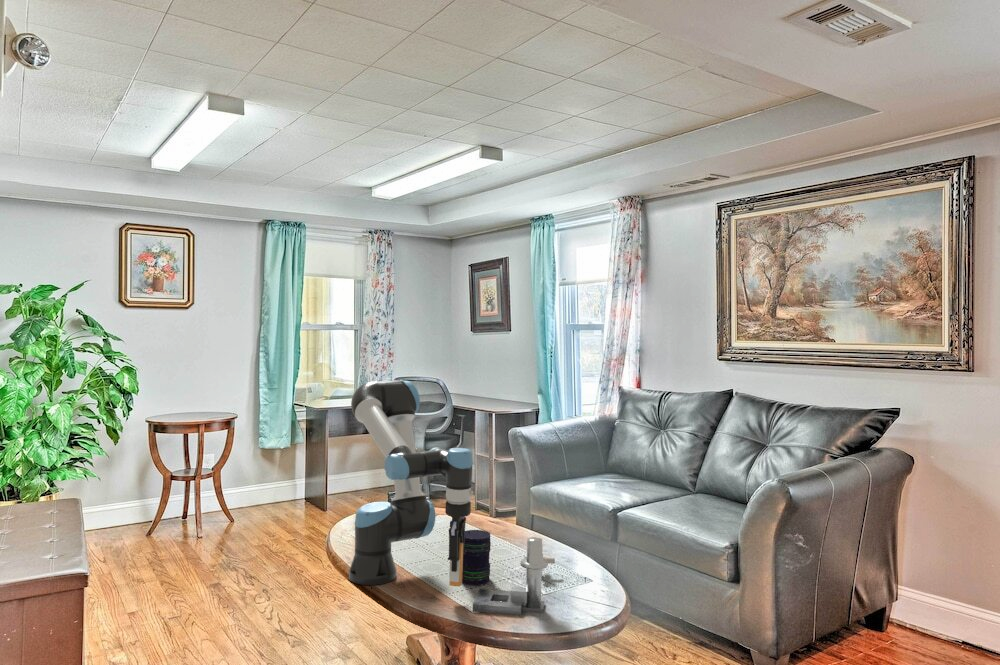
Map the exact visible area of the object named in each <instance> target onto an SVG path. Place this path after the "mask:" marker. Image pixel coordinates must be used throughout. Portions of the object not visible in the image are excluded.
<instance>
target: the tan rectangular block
mask: <svg viewBox="0 0 1000 665" xmlns="http://www.w3.org/2000/svg"><path fill="white" fill-rule="evenodd" d="M459 560H460V571H459V582H452V581H450V579H449V584H448V585H449V587H451V586H452V587H461V586H462V584H463V583H462V571H463V543H460V550H459Z"/></svg>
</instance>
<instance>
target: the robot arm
mask: <svg viewBox="0 0 1000 665" xmlns="http://www.w3.org/2000/svg"><path fill="white" fill-rule="evenodd" d="M420 403H421V399H420V393H419V391H418V388H417V387H416V385H415V384H414V383H413V382H411V381H410V380H402V379H397V380H380V381H376V380H374V381H367V382H365V383H363V384H361V385H360V386H359V387H358V388H357V389H356V390H355V391H354V392H353V395H352V398H351V404H350V405H351V411H352V413H353V416H354V417H355V419H356V420H357V421H358V422H359V423H362V424H363V426H364V427H365V429H366V430H367V432H368V433H369V434H370V437H371V438H372V439H373V441H374V442H375V444H376V446H377V447H378V449H379V450H380V451H381V453H382V455H383V456H384V458H385V460H384V464H383V466H384V467H383V468H384V471H385V476H386V477H387V478H388V479H389V480H390V481H391V480H392V481H393V484H394V492H395V495H394V497H393V498H392V499H391V502H390V501H383V500H382V501H374V502H368V503H366V504H363V505H361V506H360V507H359V508H358V509H357V510H356V512H355V517H354V518H355V521H354V555H353V559H352V560H351V564H350V567H349V570H348V580H349V581H350V582H352V583H354V584H357V585H362V586H363V585H364V586H377V585H378V586H379V585H383V584H387V583H390V582H392V581H393V580H395V579H396V578H397V567H396V564H395V561H394V558H393V557H394V556H393V554H392V543H395V542H402V541H403V542H404V541H409V540H414V539H415V540H416V539H420V538H424V537H427V536H429V535H430V534H431V533H432V532H433V530H434V527H435V523H436V510H435V505H434V504H433V502H432V501H430V500H428V499H427V494H425V493H424V492H423V491H422V490H421V489H422V488H421V483H420V478H422V477H423V478H424V477H432V476H443V477H445V478H446V479H445V482H446V483H445V500H446V502H445V515H447V516H450V517H451V520H450V522H449V528H448V557H447V561H449V580H450V581H452V582H459V571H460V560H459V550H460V543H463V550H464V542H465V531H466V523H467V522H466V521H467V517H468V516H470V515H471V511H472V506H471V505H472V503H471V500H472V495H473V494H474V491H473V490H472V480H473V466H474V463H473V452H472V450H470V449H469V448H464V447H452V448H449V449H446V448H444V447H437V446H436V447H432V448H431V449H430V450H429V449H428V450H427V451H424V450H423V451H416V445H415V439H414V437H415V436H414V430H413V420H414V419H415V418H416V413H417V412H418V411H419V408H420ZM463 554H465V551H463Z"/></svg>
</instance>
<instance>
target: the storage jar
mask: <svg viewBox="0 0 1000 665" xmlns="http://www.w3.org/2000/svg"><path fill="white" fill-rule="evenodd" d="M491 549H492V548H491V533H490V531H487V530H483V529H469V530H465V542H464V550H463V551H465V554H463V571H462V584H463V585H465V586H470V587H478V586H479V587H480V586H484V585H487V584H488V583H490V579H491V578H490V575H491V562H490V553H491Z"/></svg>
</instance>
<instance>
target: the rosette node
mask: <svg viewBox="0 0 1000 665" xmlns="http://www.w3.org/2000/svg"><path fill="white" fill-rule="evenodd" d="M542 545H543V539H542V538H540V537H537V536H534V537H533V536H532V537H528V538H527V539H526V557H527V558H525V559H524V558H523V559H521V560H520V566H521V567H522V568H524V569H526V576H525V577H526V579H525V580H526V581H525V582H526V583H525V584H526V585H525V587H519V586H518V587H517V586H512V588H511V590H501V589H500V590H499V589H489V588H488V589H487V588H479V590H478V592H477V594H476V597H475V599H474V601H473V602H472V612H480V613H488V614H489V613H492V614H504V615H515V616H521V615H522V612H529V613H530V612H533V613H543V612H544V609H545V604H546V601H545V600H542V575H543V569H546V568H548V566H549V563H548V561H546V560H545V559H542V553H543V548H542ZM500 601H502V602H500Z"/></svg>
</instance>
